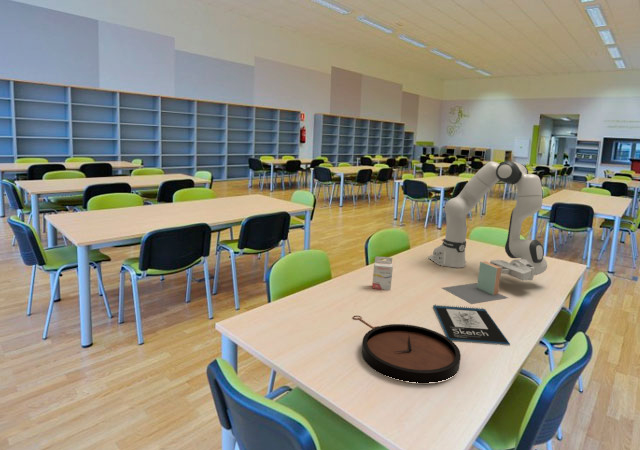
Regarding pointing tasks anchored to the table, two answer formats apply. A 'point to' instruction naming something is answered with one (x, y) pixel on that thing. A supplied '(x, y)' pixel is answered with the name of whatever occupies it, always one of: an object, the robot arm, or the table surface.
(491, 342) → the sketchbook
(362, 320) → the key
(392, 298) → the table surface
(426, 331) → the wall clock
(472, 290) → the mat
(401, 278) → the table surface
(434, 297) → the table surface
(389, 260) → the ink cartridge box
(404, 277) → the table surface
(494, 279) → the tile
